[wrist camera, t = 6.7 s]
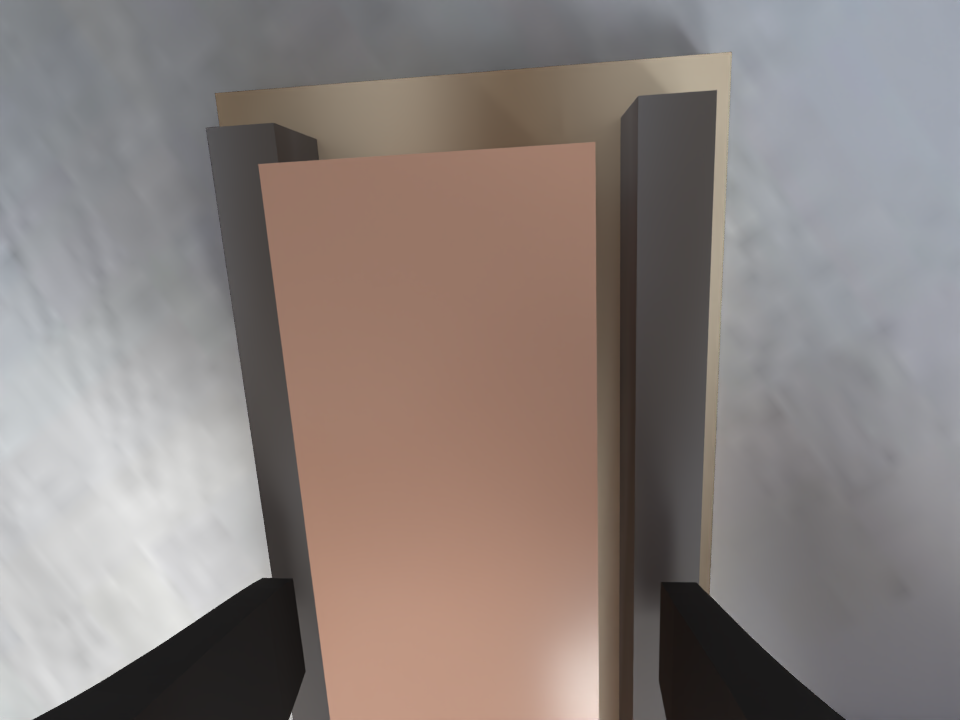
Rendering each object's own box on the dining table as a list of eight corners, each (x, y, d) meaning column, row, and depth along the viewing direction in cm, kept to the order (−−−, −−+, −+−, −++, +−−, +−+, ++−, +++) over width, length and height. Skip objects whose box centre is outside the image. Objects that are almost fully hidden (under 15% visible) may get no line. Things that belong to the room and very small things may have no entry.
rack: (713, 68, 12) (775, 13, 9) (685, 843, 16) (720, 988, 13) (244, 104, 13) (151, 67, 10) (339, 825, 17) (296, 955, 14)
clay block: (570, 175, 11) (595, 141, 7) (580, 824, 15) (601, 1109, 10) (371, 187, 12) (258, 164, 7) (427, 816, 15) (378, 1087, 11)
